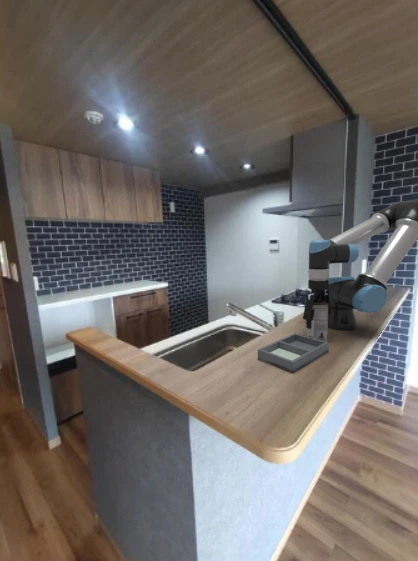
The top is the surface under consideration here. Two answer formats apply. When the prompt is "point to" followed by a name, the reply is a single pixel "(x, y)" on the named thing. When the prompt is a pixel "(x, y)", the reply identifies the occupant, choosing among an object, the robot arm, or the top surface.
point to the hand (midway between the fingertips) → (317, 332)
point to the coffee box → (320, 320)
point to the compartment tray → (293, 352)
